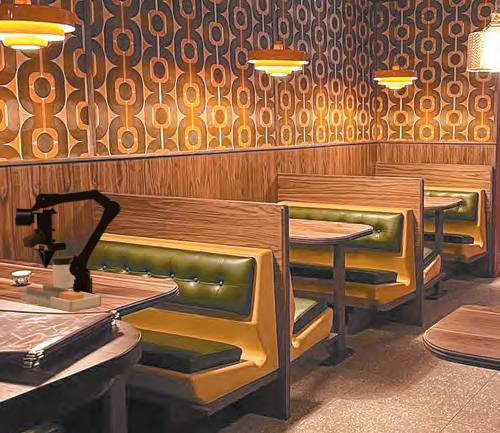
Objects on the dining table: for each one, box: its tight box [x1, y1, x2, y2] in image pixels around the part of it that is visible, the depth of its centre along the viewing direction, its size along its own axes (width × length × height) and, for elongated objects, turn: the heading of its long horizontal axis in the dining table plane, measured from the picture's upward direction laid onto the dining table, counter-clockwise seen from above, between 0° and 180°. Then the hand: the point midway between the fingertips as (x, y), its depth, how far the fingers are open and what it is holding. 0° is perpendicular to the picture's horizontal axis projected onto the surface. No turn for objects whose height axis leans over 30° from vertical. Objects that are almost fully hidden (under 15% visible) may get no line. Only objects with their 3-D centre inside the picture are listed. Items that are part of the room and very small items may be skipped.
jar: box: [52, 255, 75, 289], centre depth 284 cm, size 9×8×12 cm
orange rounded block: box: [60, 290, 76, 300], centre depth 250 cm, size 4×4×4 cm
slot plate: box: [20, 284, 75, 308], centre depth 258 cm, size 13×19×4 cm
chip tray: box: [49, 292, 102, 313], centre depth 248 cm, size 13×12×4 cm
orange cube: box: [67, 292, 84, 301], centre depth 248 cm, size 4×4×4 cm
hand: (45, 267), depth 264 cm, fingers closed
